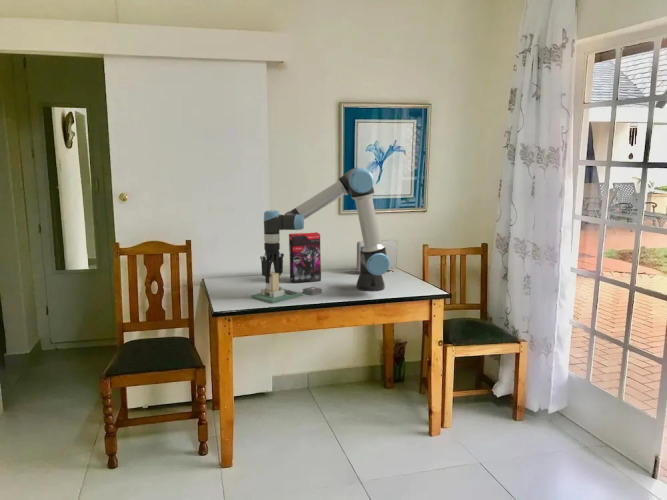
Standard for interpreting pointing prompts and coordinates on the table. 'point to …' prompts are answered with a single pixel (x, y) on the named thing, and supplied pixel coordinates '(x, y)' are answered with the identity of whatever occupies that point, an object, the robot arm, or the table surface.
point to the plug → (273, 282)
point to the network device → (390, 251)
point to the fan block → (312, 290)
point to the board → (276, 295)
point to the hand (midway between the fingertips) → (272, 288)
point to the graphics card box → (305, 257)
